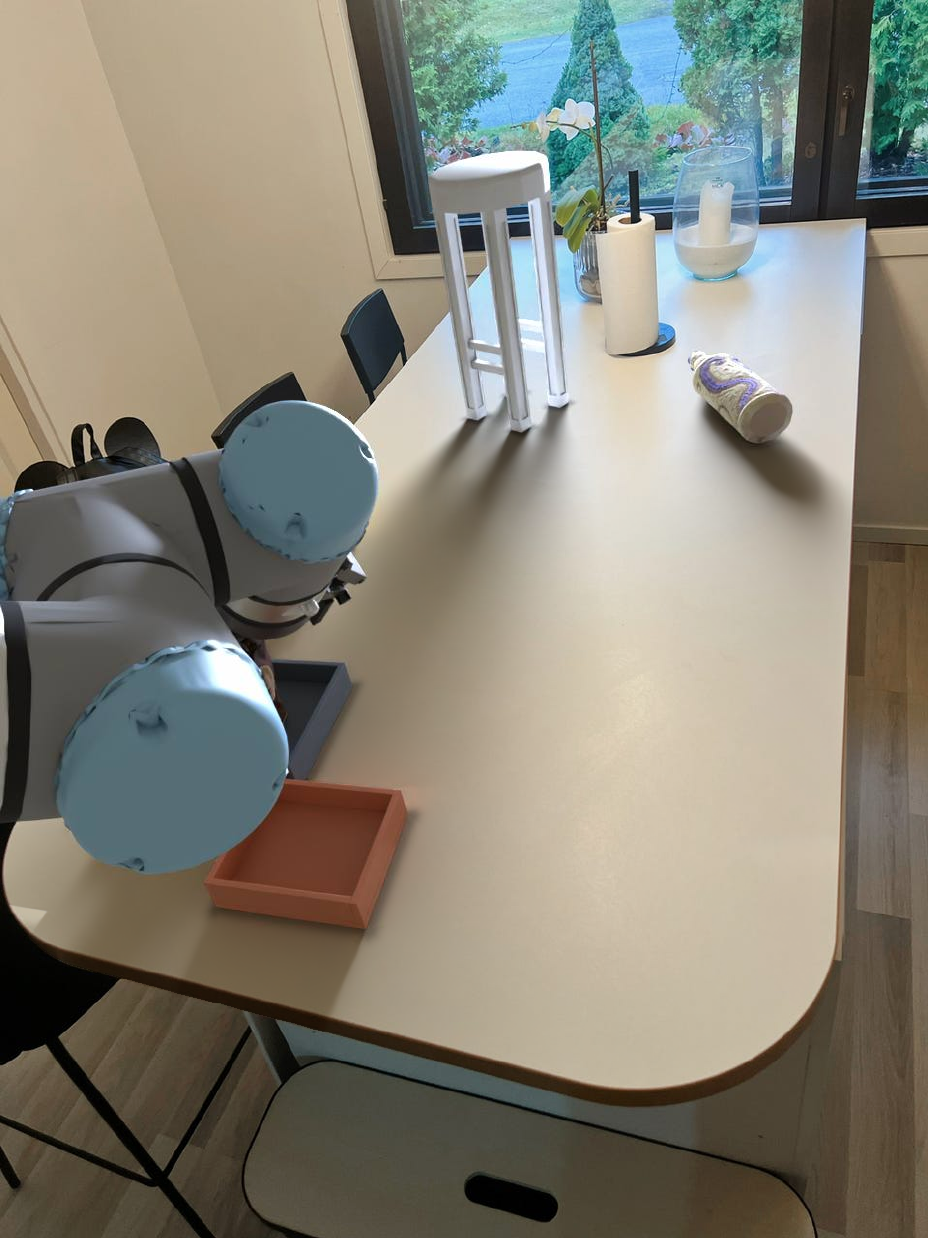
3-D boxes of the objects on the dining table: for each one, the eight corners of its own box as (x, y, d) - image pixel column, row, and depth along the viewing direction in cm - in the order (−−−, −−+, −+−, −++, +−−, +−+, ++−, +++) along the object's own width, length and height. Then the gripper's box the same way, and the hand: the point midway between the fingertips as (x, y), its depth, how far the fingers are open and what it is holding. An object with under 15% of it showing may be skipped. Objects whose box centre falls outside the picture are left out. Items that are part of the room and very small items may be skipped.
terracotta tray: (216, 907, 71) (202, 883, 69) (272, 800, 79) (262, 776, 77) (366, 929, 67) (356, 904, 65) (408, 815, 75) (401, 789, 73)
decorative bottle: (794, 437, 116) (798, 390, 112) (740, 450, 116) (741, 403, 112) (718, 368, 137) (718, 326, 133) (671, 379, 136) (670, 337, 132)
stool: (513, 382, 145) (483, 149, 124) (587, 398, 135) (569, 149, 114) (449, 420, 137) (405, 178, 116) (523, 441, 128) (490, 182, 106)
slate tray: (157, 777, 84) (145, 754, 82) (224, 678, 95) (214, 655, 93) (300, 791, 80) (290, 767, 78) (353, 686, 90) (345, 662, 88)
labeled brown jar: (310, 730, 85) (272, 626, 77) (230, 770, 82) (182, 667, 74) (280, 683, 91) (242, 583, 83) (205, 719, 88) (158, 619, 81)
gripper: (110, 723, 49) (123, 766, 68) (458, 532, 59) (384, 616, 78) (42, 611, 49) (74, 685, 69) (399, 441, 60) (340, 547, 79)
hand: (239, 648), depth 74 cm, fingers open, 13 cm apart
